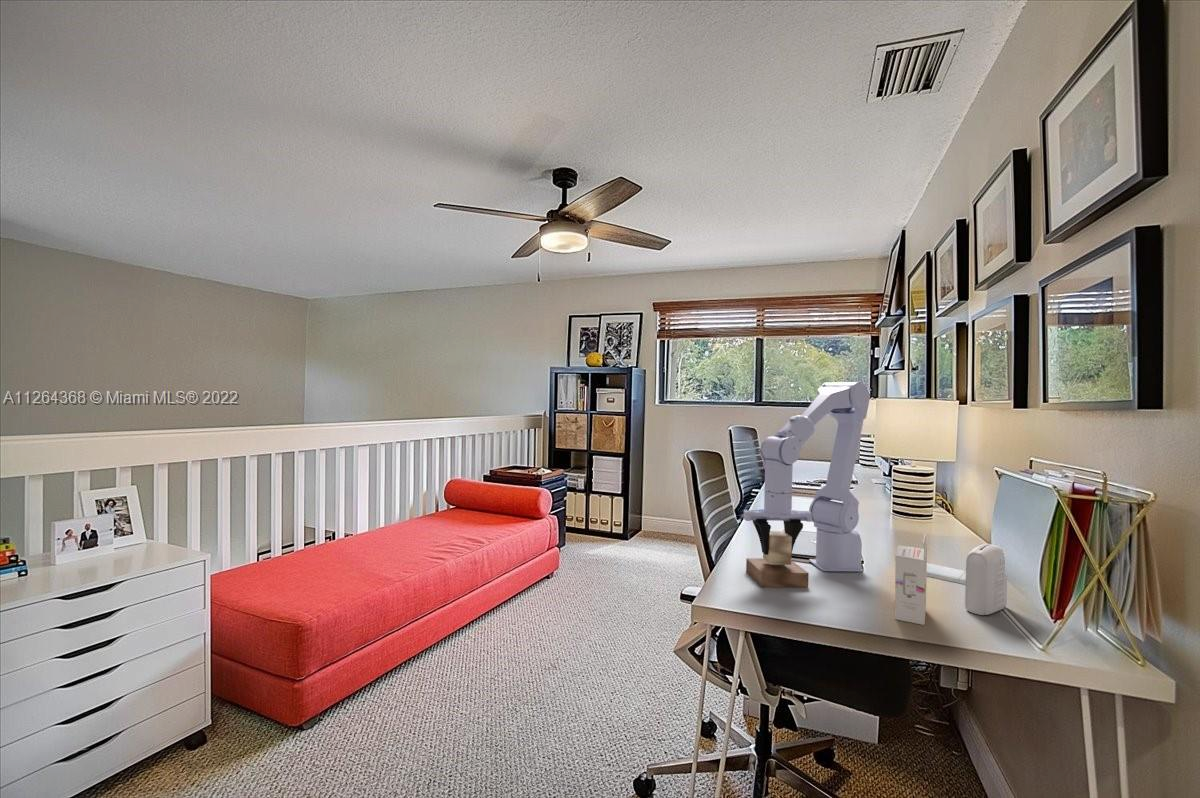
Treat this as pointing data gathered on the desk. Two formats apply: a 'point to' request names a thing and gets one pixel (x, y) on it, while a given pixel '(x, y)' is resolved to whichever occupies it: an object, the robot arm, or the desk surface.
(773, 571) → the walnut base
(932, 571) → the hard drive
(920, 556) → the ink cartridge box
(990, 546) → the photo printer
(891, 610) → the desk surface
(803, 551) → the desk surface
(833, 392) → the robot arm
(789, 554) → the maple block
